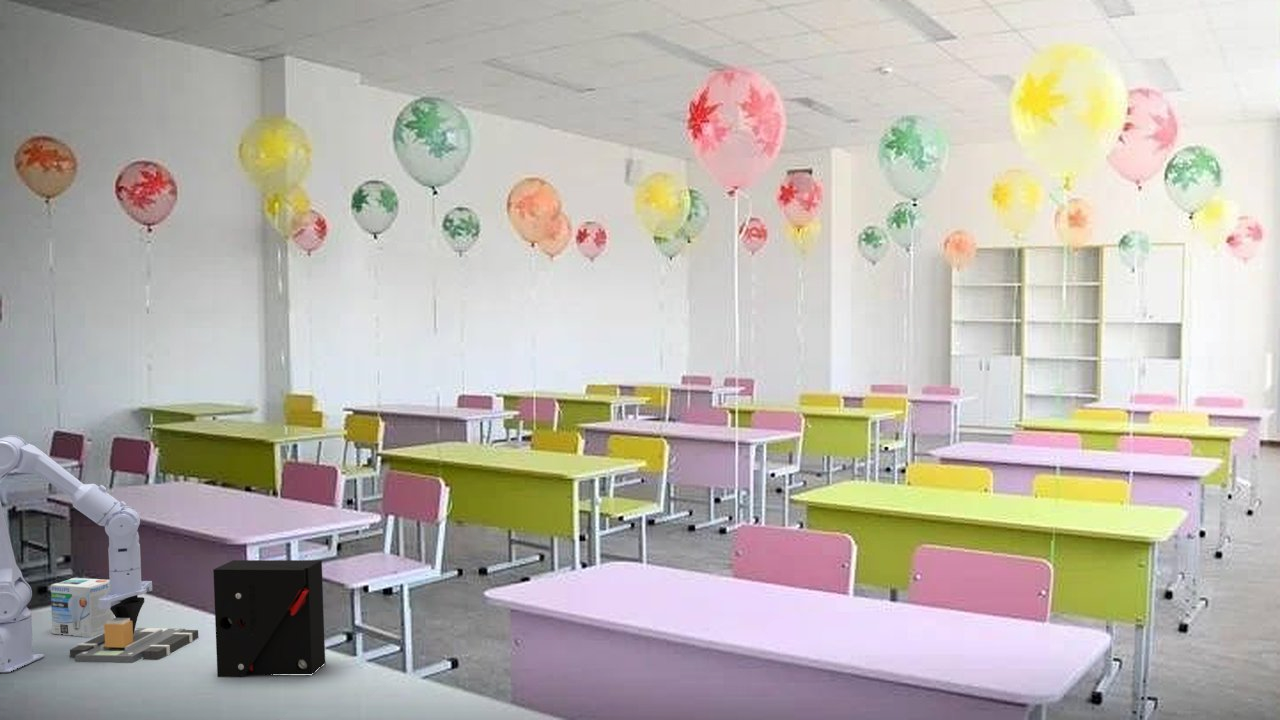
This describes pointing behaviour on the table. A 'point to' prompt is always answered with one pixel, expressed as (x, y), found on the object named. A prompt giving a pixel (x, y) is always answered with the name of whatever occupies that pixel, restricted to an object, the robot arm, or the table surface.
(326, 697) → the table surface
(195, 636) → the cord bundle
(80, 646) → the cord bundle
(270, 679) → the table surface
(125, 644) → the breaker knob
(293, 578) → the electrical component
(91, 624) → the light bulb box
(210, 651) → the table surface
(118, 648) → the breaker panel
